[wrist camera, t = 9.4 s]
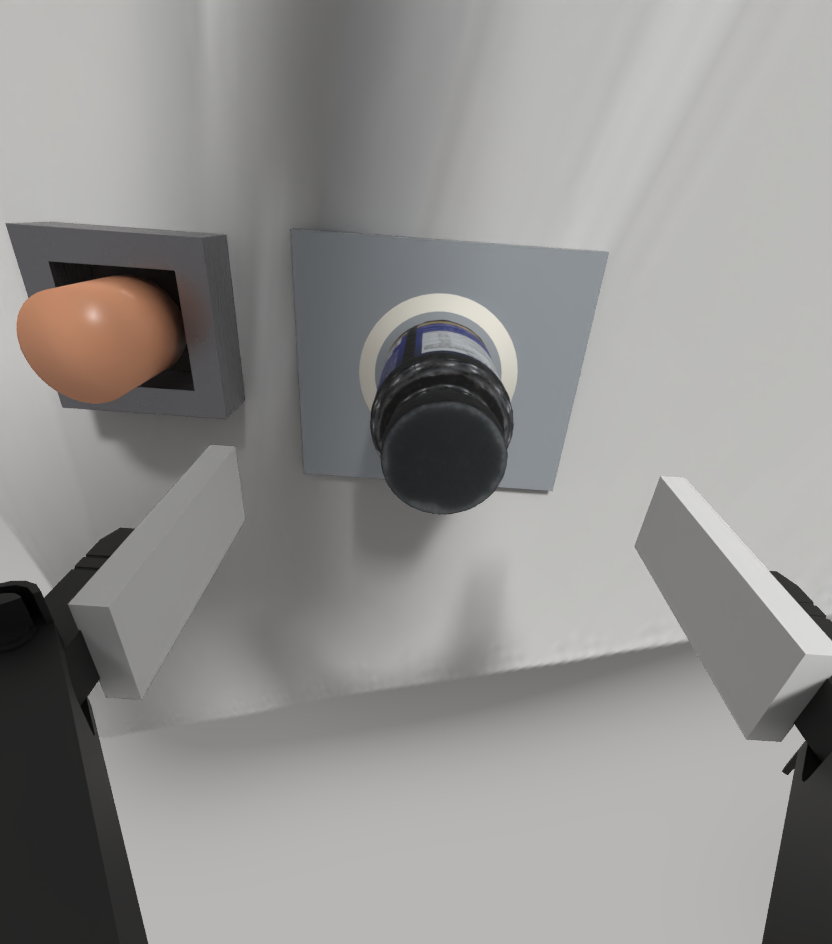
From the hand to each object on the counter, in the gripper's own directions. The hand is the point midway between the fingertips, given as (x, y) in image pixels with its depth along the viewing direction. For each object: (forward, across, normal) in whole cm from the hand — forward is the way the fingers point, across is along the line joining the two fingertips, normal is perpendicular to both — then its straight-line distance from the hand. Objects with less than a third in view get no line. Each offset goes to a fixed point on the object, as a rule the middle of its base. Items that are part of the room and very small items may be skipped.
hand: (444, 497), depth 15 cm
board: (+14, 0, -1) cm, 14 cm away
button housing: (+14, -16, +1) cm, 22 cm away
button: (+13, -16, +1) cm, 20 cm away
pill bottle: (+14, 0, 0) cm, 14 cm away
